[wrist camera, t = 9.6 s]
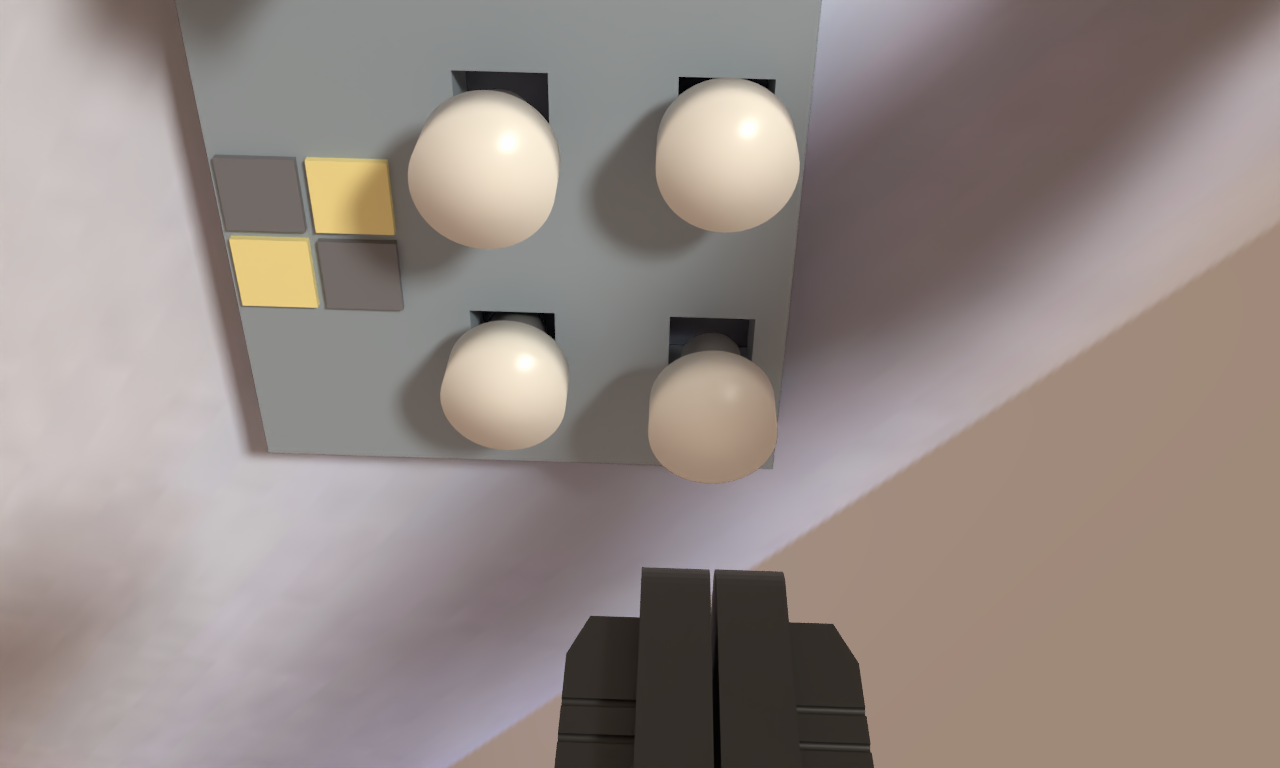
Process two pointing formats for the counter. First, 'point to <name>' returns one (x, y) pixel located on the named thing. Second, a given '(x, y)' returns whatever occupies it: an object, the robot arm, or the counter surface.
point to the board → (457, 274)
